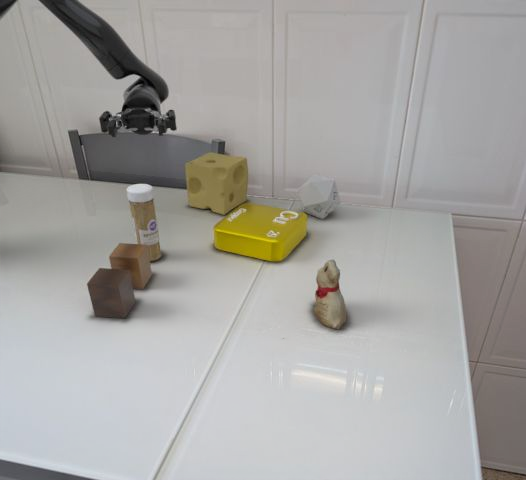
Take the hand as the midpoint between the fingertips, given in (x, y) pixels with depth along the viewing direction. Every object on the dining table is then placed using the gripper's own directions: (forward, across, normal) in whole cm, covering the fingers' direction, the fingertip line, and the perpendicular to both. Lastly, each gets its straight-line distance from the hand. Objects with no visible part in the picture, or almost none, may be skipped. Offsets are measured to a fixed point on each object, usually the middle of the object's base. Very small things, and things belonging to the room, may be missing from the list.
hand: (136, 130), depth 91 cm
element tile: (+7, +22, +20) cm, 31 cm away
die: (-5, +36, +20) cm, 42 cm away
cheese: (-14, +15, +20) cm, 28 cm away
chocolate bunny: (+34, +30, +20) cm, 50 cm away
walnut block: (+28, -4, +20) cm, 35 cm away
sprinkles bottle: (+11, 0, +20) cm, 23 cm away
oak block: (+20, -2, +20) cm, 28 cm away
